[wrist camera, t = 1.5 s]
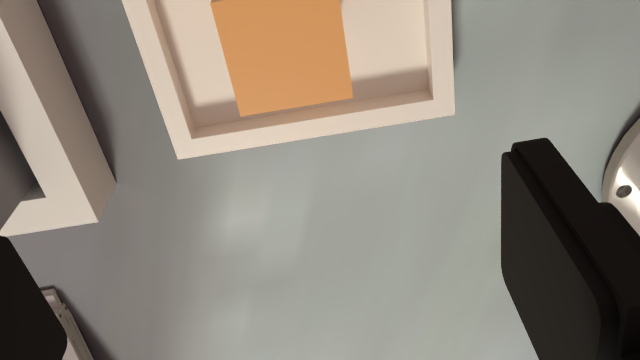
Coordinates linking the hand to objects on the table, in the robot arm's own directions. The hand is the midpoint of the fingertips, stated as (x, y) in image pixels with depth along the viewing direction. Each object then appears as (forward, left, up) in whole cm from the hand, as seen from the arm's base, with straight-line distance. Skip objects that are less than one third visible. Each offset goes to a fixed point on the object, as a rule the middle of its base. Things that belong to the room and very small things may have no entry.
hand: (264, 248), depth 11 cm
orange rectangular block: (0, 0, -18) cm, 18 cm away
